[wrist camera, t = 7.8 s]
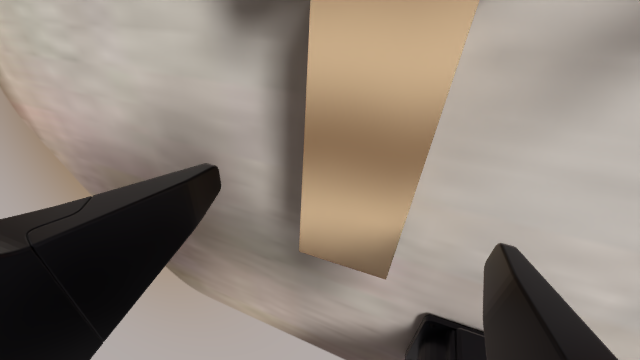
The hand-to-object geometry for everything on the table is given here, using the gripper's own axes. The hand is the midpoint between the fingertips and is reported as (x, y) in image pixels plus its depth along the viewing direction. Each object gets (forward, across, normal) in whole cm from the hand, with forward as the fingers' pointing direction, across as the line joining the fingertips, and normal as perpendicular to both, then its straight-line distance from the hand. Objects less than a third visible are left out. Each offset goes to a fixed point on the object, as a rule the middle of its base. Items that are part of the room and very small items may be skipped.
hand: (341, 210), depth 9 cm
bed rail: (+7, 0, -3) cm, 7 cm away
